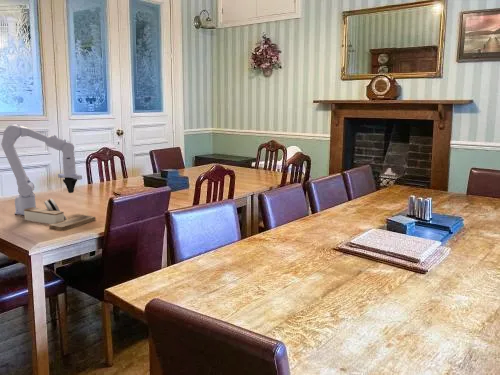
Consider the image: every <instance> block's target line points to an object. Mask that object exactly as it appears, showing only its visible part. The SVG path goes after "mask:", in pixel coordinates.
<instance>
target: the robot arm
mask: <svg viewBox="0 0 500 375" xmlns="http://www.w3.org/2000/svg"><path fill="white" fill-rule="evenodd" d="M2 134H3V135H2V141H1V147H2V148H1V149H2V150H3V152H4V155H5V157H6V159H7V161H8V163H9V165H10V168H11V171H12V172H13V175H14V177H15V180H16V184H17V187H18V188H17V193H18V195H17V196H15V199H14V208H15V212H14V214H16V215H21V216H25V215H24V209H28V208H32V207H34V208H37V204H36V195H35V193H34V190H35V184H34V183H33V182H32V181H31V180H30V178H29V177H28V176H27V173H26V171H25V169H24V166H23V164H22V161H21V160H20V157H19V155H18V152H17V150H16V147H15V143H16V142H17V140H18V139H19V138H20V137H21V138H24V137H29V138H32V139H35V140H37V141H41V142H44V143H45V145H46V147H49V148H51V149H54V150H56V151H60V152H62V169H63V173H57V177H58V179H60V178H63V179H62V182H63V184H64V185H65V186H66V190H67V192H68V193H69V194H73V193H74V191H75V186H76V184H77V182H78V180H79V181H82V180H83V174H82V175H80V174H77V173H76V172H77V170H76V158H75V145H74V143H72V142H71V141H69V140H68V141H67V139H62V138H59V137H58V136H57V135H55V134H54V135H52V134H51V135H45V134H43V133H41V132H38V131H36V130H34V129H32V128H30V127H26V126H23V125H19V124H16V123H15V124H11V125H9V126H7V127H6V128H5V129H4V131H3V132H2Z"/></svg>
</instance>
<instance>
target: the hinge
mask: <svg viewBox="0 0 500 375" xmlns="http://www.w3.org/2000/svg"><path fill="white" fill-rule="evenodd" d="M43 203H44V205H45V207H46V209H48V210H50V211H52V210H55V211H61V210H60V209H59V207H58V204H57V203H56V201H55V200H54V199H53V198H49V199H48V200H47V199H46V200H45V201H43ZM64 220H67V217H66V215H65V214H64Z"/></svg>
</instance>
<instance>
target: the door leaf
mask: <svg viewBox="0 0 500 375" xmlns="http://www.w3.org/2000/svg"><path fill="white" fill-rule="evenodd" d="M93 221H96V216H91V215H84V214H81V215H78V216H75V217H71V218H68V219H64V221H61V222H58V223H54V224H48V229H52V230H56V229H57V231H62V230H63V231H65V230H68V229H71V228H75V227H78V226H81V225H84V224H87V223H91V222H93Z"/></svg>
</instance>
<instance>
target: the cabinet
mask: <svg viewBox="0 0 500 375" xmlns="http://www.w3.org/2000/svg"><path fill="white" fill-rule="evenodd" d="M64 213H65V212H64V211H61V210H60V211H55V210H52V211H50V210H48V209H47V208H46V209H45V208H41V207H36V208H34V207H32V208H28V209H24V215H23V216H24V221H30V222H37V223H42V224H48V225H51V224H54V223H58V222H61V221H64V220H65V218H64V215H65V214H64Z"/></svg>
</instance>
